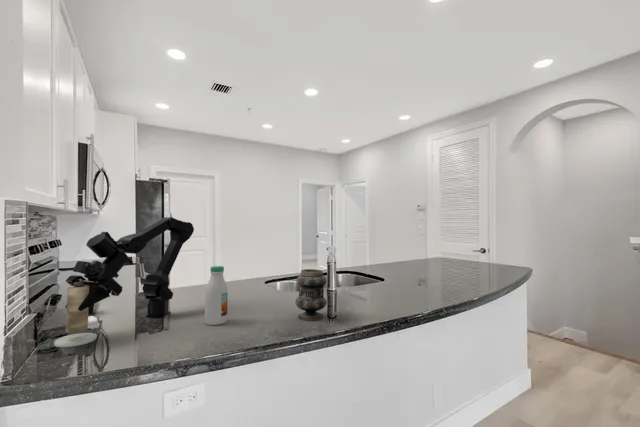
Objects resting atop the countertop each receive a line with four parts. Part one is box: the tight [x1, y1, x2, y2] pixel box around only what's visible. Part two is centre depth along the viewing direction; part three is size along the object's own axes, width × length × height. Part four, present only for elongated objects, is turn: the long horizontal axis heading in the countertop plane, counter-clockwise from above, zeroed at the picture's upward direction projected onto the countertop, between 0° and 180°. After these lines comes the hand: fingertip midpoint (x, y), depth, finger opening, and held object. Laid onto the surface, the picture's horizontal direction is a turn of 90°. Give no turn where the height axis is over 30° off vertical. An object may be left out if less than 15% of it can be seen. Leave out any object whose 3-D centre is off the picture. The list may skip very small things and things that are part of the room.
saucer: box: [53, 332, 98, 349], centre depth 94 cm, size 10×10×1 cm
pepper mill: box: [65, 282, 89, 334], centre depth 94 cm, size 5×5×14 cm
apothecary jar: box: [295, 268, 328, 322], centre depth 121 cm, size 12×12×18 cm
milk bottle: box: [204, 265, 229, 326], centre depth 114 cm, size 8×8×20 cm
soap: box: [88, 315, 100, 330], centre depth 108 cm, size 9×7×3 cm
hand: (72, 309), depth 93 cm, fingers closed on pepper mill, 5 cm apart
